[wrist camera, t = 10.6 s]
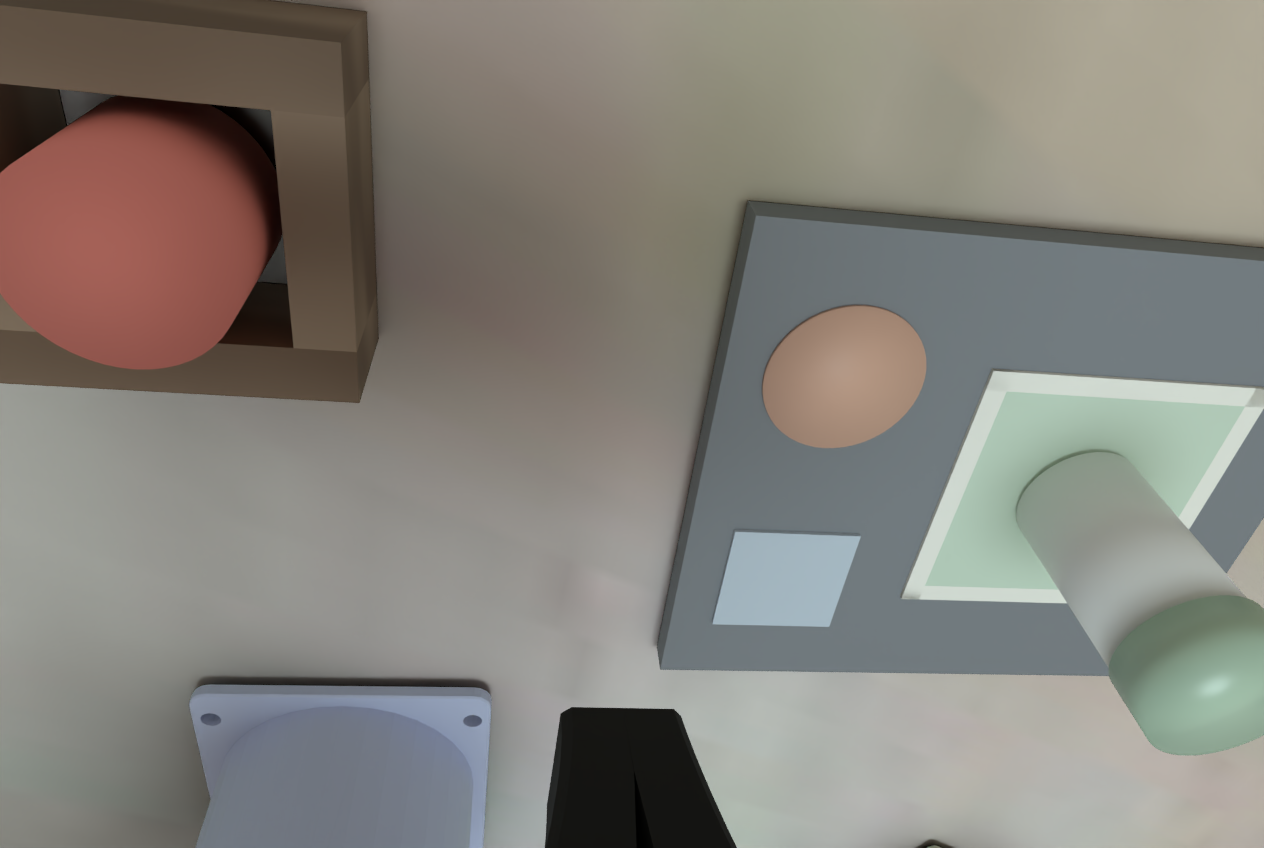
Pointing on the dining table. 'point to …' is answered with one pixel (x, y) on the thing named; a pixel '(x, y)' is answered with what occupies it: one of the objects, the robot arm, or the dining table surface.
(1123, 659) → the pale green cylinder
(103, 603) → the dining table surface
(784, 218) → the picture board
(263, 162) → the button
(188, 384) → the button box
